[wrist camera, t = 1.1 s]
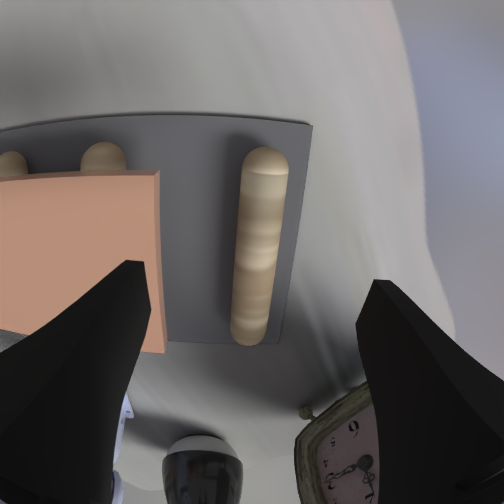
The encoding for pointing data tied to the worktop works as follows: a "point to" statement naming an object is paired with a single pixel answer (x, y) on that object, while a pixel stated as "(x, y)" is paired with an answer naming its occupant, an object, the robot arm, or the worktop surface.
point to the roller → (257, 242)
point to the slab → (76, 242)
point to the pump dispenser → (202, 472)
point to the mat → (189, 201)
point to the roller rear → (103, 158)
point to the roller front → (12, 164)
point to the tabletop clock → (339, 452)
